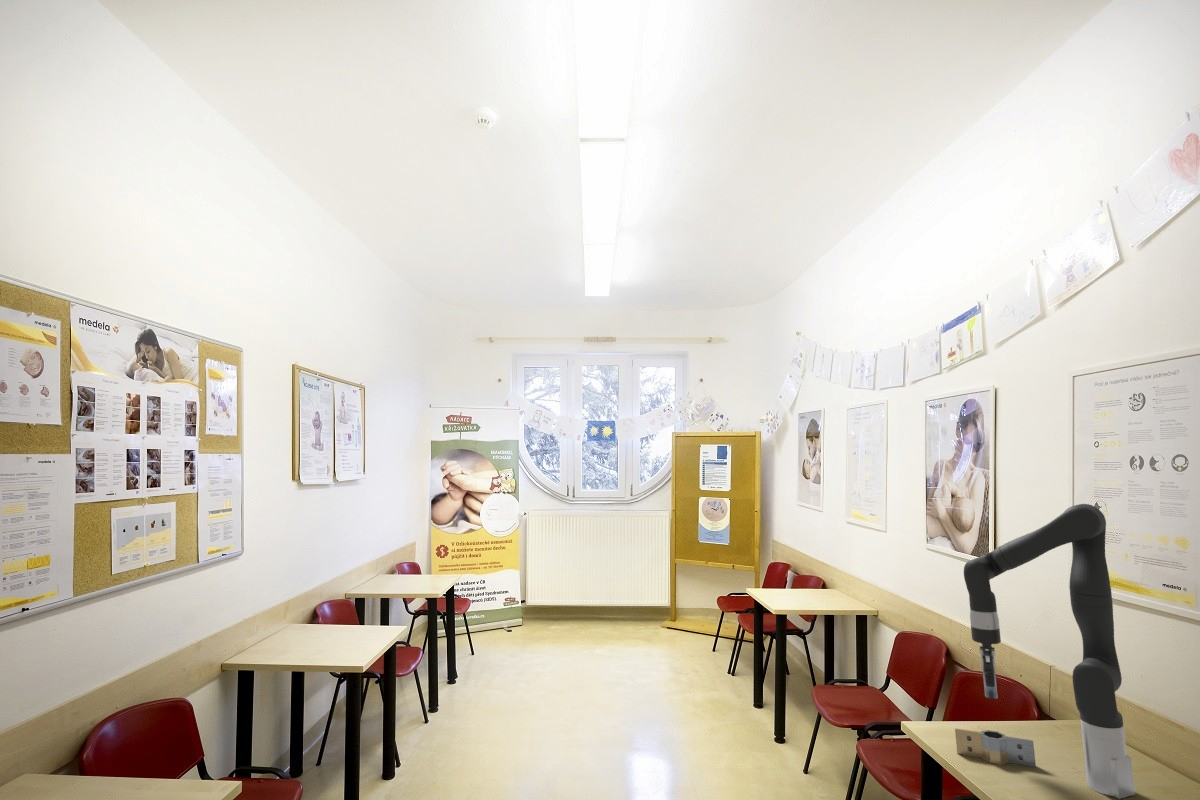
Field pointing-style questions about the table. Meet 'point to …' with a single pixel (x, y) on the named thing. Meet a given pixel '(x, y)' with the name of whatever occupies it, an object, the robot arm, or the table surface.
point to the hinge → (995, 747)
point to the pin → (990, 691)
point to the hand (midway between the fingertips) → (990, 684)
